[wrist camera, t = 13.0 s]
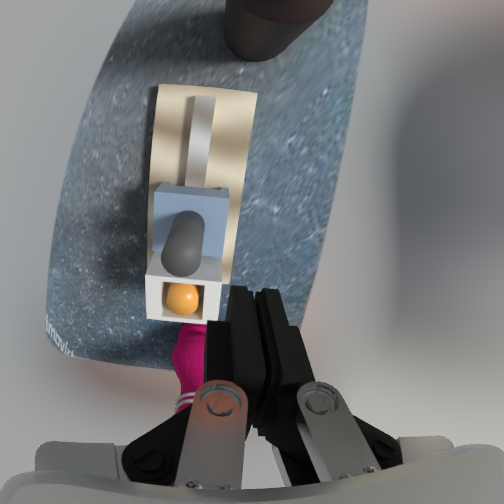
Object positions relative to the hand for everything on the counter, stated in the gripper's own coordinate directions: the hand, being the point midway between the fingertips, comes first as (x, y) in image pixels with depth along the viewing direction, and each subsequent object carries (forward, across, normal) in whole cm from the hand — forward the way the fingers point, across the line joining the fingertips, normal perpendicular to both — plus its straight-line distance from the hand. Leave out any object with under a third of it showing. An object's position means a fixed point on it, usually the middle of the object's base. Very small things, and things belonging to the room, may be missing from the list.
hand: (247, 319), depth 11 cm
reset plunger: (+18, +3, +11) cm, 21 cm away
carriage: (+22, +3, +5) cm, 23 cm away
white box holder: (+22, +3, +11) cm, 25 cm away
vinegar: (+25, 0, -16) cm, 30 cm away
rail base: (+24, +3, +2) cm, 25 cm away
